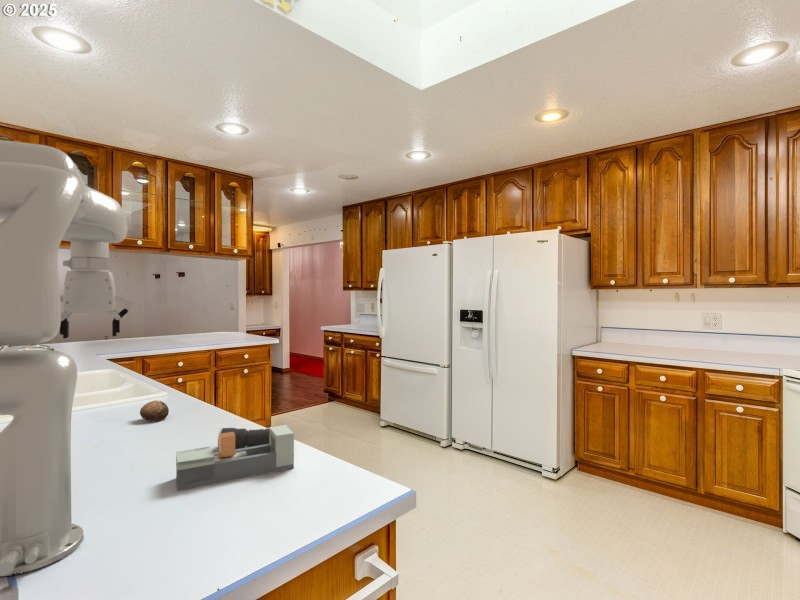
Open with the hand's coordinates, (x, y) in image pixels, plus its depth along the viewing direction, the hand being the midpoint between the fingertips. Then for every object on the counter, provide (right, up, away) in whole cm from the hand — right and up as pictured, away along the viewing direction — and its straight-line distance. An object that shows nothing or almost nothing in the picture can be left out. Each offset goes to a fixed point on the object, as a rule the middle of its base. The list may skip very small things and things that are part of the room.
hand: (90, 336), depth 105 cm
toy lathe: (+38, -30, -7) cm, 49 cm away
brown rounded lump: (-3, -29, +32) cm, 43 cm away
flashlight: (+36, -30, +9) cm, 47 cm away
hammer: (+34, -29, -10) cm, 45 cm away
